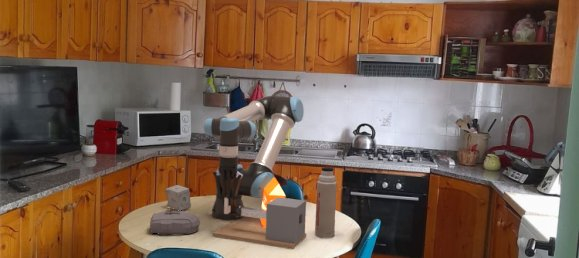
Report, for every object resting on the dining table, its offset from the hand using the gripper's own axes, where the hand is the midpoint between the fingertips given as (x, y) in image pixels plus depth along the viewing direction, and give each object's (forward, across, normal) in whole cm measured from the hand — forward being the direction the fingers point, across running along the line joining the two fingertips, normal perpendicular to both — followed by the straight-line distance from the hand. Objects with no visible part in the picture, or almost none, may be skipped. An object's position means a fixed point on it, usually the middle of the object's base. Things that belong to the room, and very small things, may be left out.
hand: (227, 212), depth 217 cm
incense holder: (+8, -37, +21) cm, 43 cm away
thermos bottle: (+8, +38, +15) cm, 41 cm away
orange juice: (+7, +13, +16) cm, 22 cm away
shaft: (+1, +14, 0) cm, 14 cm away
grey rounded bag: (+8, -20, -8) cm, 23 cm away
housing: (+8, +15, 0) cm, 17 cm away
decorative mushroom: (+8, +1, +50) cm, 51 cm away
